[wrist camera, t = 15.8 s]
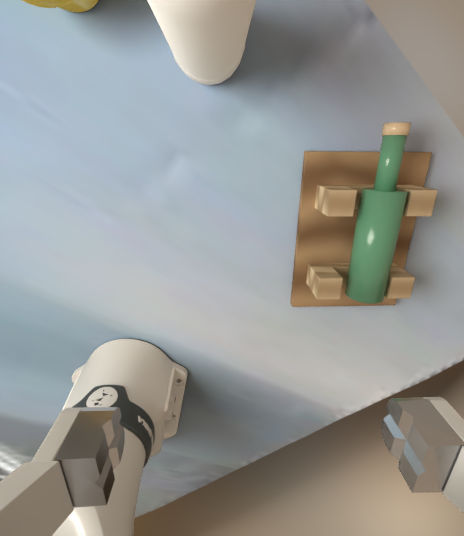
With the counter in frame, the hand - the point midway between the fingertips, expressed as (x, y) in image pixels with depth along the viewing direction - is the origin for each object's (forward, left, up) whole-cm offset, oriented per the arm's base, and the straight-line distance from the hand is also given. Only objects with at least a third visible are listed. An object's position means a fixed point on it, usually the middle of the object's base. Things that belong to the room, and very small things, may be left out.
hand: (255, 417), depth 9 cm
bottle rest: (-4, -18, -34) cm, 39 cm away
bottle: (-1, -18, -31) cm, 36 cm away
